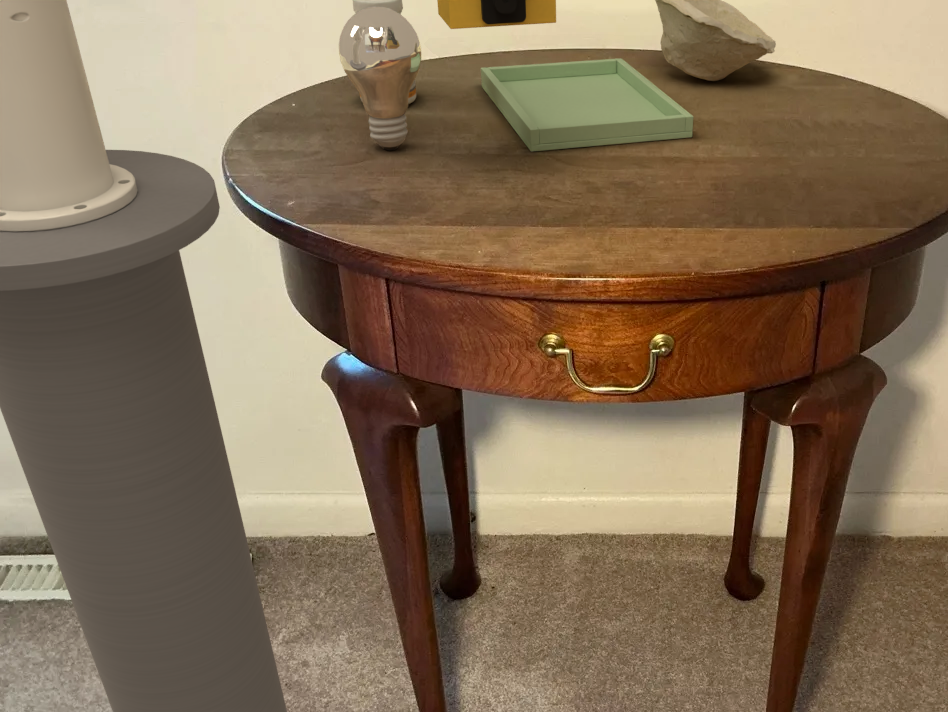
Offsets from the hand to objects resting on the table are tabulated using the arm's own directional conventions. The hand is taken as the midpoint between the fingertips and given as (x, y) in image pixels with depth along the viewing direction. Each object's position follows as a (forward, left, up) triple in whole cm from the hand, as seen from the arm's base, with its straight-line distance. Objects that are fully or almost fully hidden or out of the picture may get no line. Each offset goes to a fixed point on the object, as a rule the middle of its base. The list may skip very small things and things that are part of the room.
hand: (495, 11), depth 79 cm
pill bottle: (-6, +27, -14) cm, 31 cm away
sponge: (0, 0, -1) cm, 1 cm away
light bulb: (-8, +12, -14) cm, 20 cm away
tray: (+12, +19, -14) cm, 27 cm away
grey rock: (+29, +27, -14) cm, 42 cm away
